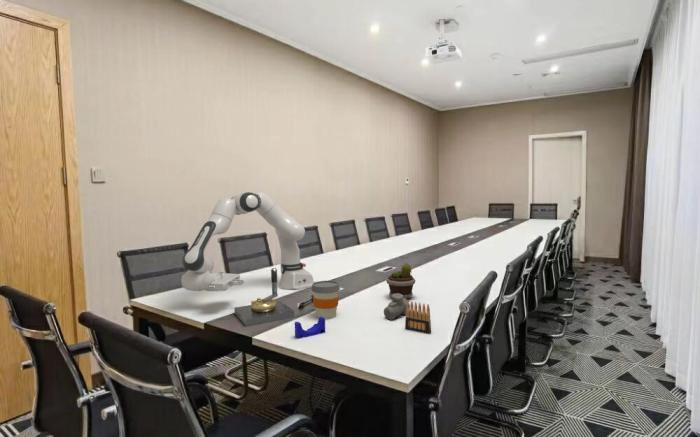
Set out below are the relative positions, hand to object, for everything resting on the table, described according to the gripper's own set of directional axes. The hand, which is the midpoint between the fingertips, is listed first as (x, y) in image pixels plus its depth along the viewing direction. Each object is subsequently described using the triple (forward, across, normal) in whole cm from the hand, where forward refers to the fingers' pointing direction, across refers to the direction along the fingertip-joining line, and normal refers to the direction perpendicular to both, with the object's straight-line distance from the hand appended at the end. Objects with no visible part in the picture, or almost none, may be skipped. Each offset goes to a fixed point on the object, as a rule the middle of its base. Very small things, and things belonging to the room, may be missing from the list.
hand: (242, 282), depth 191 cm
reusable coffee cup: (+42, -9, +13) cm, 45 cm away
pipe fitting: (+74, -9, +13) cm, 76 cm away
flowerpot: (+78, +20, +13) cm, 81 cm away
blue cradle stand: (+39, -31, +14) cm, 52 cm away
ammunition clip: (+82, -26, +13) cm, 88 cm away
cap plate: (+13, -10, +13) cm, 21 cm away
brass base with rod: (+14, -7, +10) cm, 18 cm away
